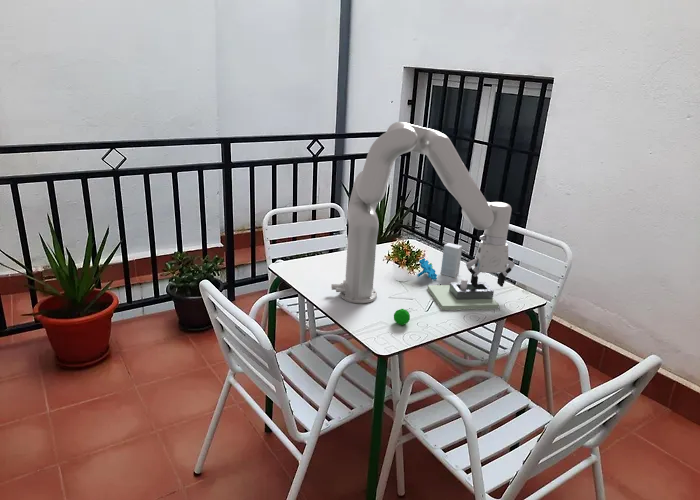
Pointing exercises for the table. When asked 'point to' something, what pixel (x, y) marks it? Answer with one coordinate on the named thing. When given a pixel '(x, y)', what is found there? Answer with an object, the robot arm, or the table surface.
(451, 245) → the skincare box
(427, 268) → the blue lumpy piece
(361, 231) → the robot arm
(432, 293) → the keeper board
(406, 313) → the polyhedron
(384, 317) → the table surface
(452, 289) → the grey hollow rectangular box
